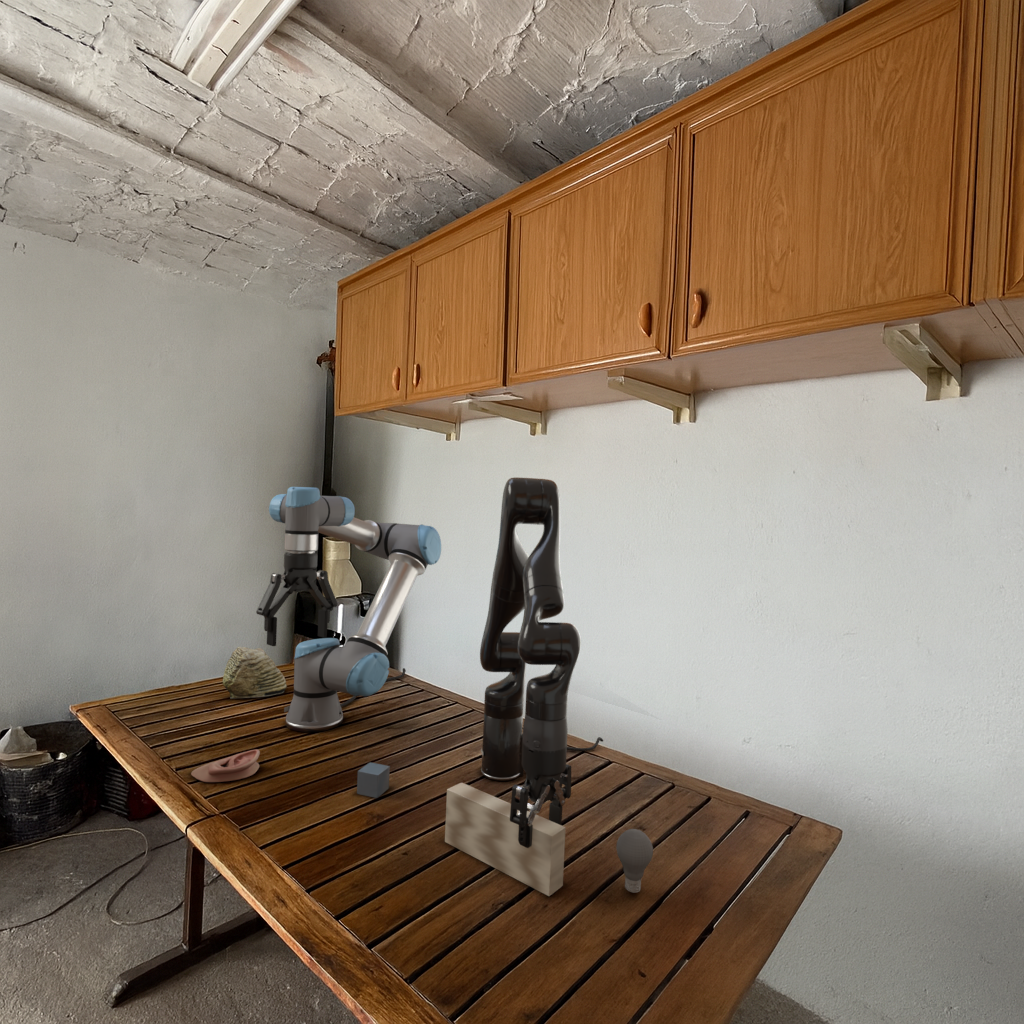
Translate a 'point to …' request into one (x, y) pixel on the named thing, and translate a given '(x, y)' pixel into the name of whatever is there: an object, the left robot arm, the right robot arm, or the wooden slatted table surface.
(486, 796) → the ash block
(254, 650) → the fossil
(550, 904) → the wooden slatted table surface
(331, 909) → the wooden slatted table surface
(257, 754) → the anatomical model
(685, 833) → the wooden slatted table surface
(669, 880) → the wooden slatted table surface
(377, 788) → the slate cube
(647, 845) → the light bulb
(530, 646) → the right robot arm
